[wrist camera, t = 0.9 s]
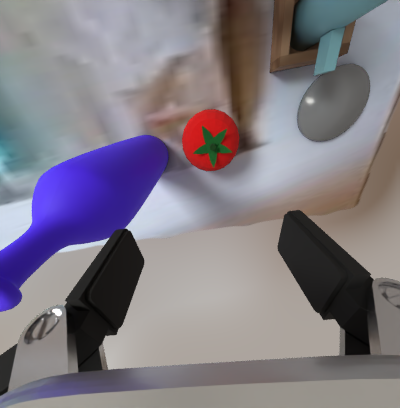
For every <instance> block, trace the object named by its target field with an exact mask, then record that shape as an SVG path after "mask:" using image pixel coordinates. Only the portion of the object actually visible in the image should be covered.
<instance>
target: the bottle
mask: <svg viewBox="0 0 400 408" xmlns="http://www.w3.org/2000/svg"><path fill="white" fill-rule="evenodd" d="M167 163H168V150H167V148H166V146H165V145H164V143H163V142H162V141H161V140H160V139H158V138H156V137H154V136H150V135H142V136H137V137H134V138H130V139H127V140H124V141H120V142H117V143H114V144H111V145H108V146H105V147H102V148H99V149H96V150H93V151H90V152H88V153H85V154H82V155H79V156H77V157H74V158H72V159H69V160H67V161H65V162H63V163H60V164H58V165H56V166H54V167H52V168H51V169H49V170H48V171H47V172H45V173H44V174H43V175H42V176H41V177H40V178H39V180H38V182H37V184H36V187H35V190H34V194H33V200H32V224H31V226H30V228H29V229H28V230H27V231H26V232H25V233H24V234H23V235H22V236H21V237H19V238H18V239H17V240H15V241H14V242H13V243H11V244H10V245H8V246H7V247H5V248H4V249H3V250H1V251H0V312H2V311H6V310H9V309H12V308H14V307H15V306H17V305H18V304H19V303H20V301H21V299H22V294H21V292H20V290H19V288H20V287H21V285H22V284H23V283H24V282H25V281H26V280H27V279H28V278H29V277H30V276H31V275H32V274H33V273H34V272H35V271H36V270H37V269H38V268H39V267H40V266H41V265H42V264H43V263H44V262H45V261H46V260H48V259H49V258H50V257H51V256H52V255H53V254H55V253H56V252H57V251H59V250H60V249H62V248H64V247H66V246H69V245H75V244H84V243H90V242H95V241H100V240H104V239H107V238H110V237H111V236H112V234H113V233H114V231H115V230H118V229H124V228H125V227H126V226H127V225H128V224H129V223H130V222H131V220H132V219H133V218H134V216H135V215H136V214H137V212H138V211H139V209H140V208H141V206H142V205H143V203H144V202H145V200H146V199H147V197H148V196H149V194H150V193H151V191H152V190H153V188H154V186H155V185H156V183H157V182H158V180H159V178H160V177H161V175H162V173H163V171H164V170H165V168H166V165H167Z"/></svg>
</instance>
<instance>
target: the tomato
mask: <svg viewBox="0 0 400 408" xmlns="http://www.w3.org/2000/svg"><path fill="white" fill-rule="evenodd" d="M182 143H183V150H184V153H185V155H186V157H187V159H188V160H189V161H190V162H191V164H192V165H194V166H196V167H197V168H199V169H201V170H205V171H216V170H219V169H221V168H224V167H225V166H226V165H228V164H229V163H230V162H231V160H232V159H233V158H234V156H235V154H236V152H237V149H238V146H239V133H238V129H237V126H236V124H235V123H234V121H233V119H232V118H231V117H229V116H228V115H227V114H226V113H224V112H222V111H219V110H216V109H211V110H204V111H201V112H199V113H197V114H195V115H194V116H193V117H192V118H191V119H190V120H189V121H188V123H187V125H186V127H185V129H184V132H183V138H182Z"/></svg>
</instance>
